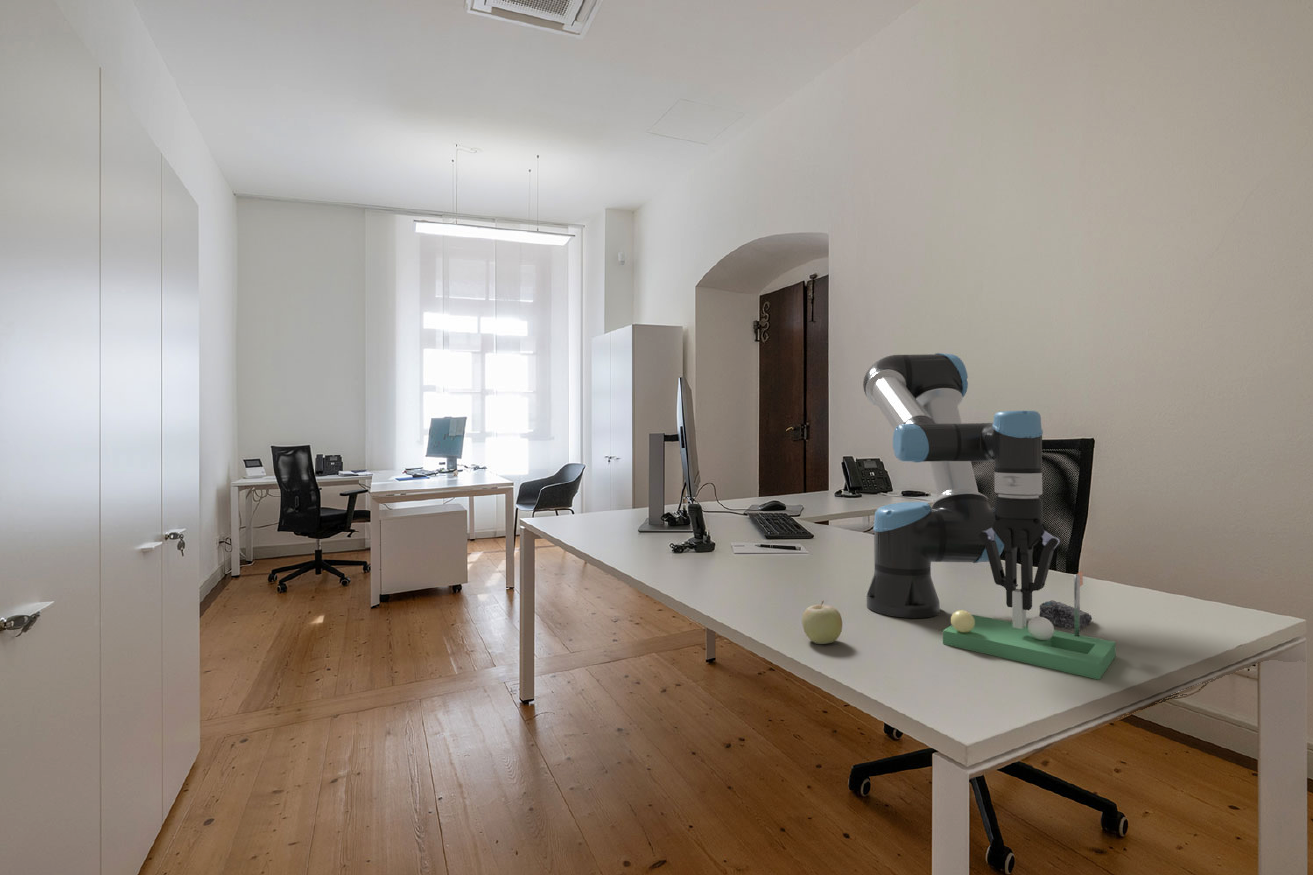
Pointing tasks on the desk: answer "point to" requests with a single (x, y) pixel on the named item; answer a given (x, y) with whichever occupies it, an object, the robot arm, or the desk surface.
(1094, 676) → the green board with hole
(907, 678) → the desk surface
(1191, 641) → the desk surface
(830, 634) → the fruit
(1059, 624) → the rock
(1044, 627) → the ball
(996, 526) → the robot arm
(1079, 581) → the pin
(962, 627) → the ball
